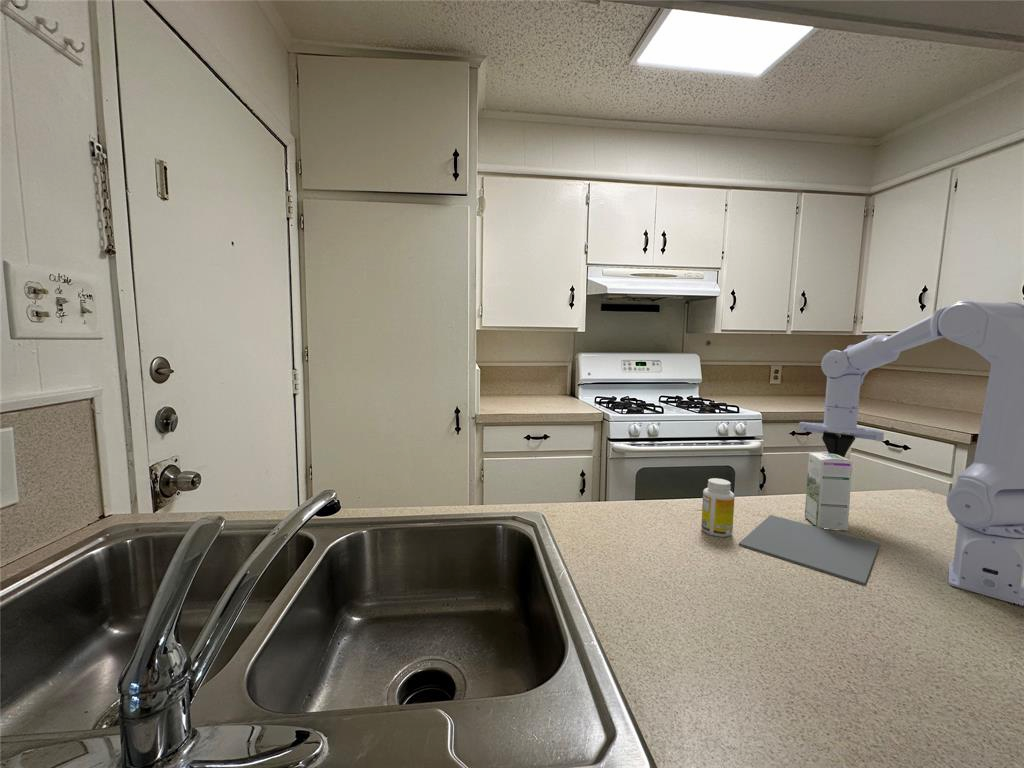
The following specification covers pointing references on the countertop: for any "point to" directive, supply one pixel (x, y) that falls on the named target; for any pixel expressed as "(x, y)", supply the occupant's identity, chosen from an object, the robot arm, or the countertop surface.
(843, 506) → the syrup box
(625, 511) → the countertop surface
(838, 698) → the countertop surface
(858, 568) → the mat
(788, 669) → the countertop surface
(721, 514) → the supplement bottle
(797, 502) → the countertop surface
